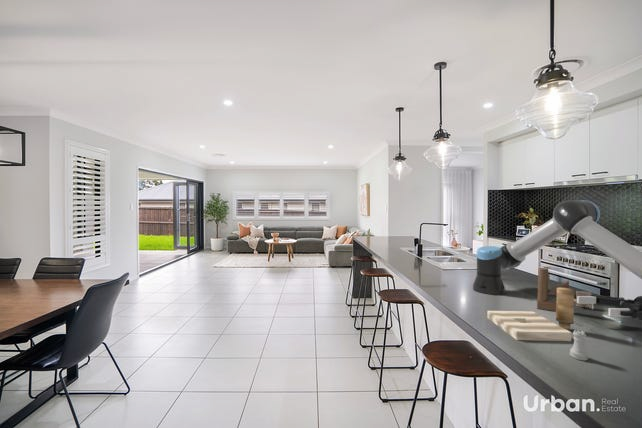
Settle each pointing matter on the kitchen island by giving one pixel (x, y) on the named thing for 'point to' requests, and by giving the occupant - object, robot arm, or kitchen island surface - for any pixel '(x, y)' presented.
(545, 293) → the wooden post with wedge
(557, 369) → the kitchen island surface
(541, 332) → the birch board
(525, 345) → the kitchen island surface
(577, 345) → the rook chess piece
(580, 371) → the kitchen island surface
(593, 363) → the kitchen island surface
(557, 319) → the oak leg
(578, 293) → the architectural model
